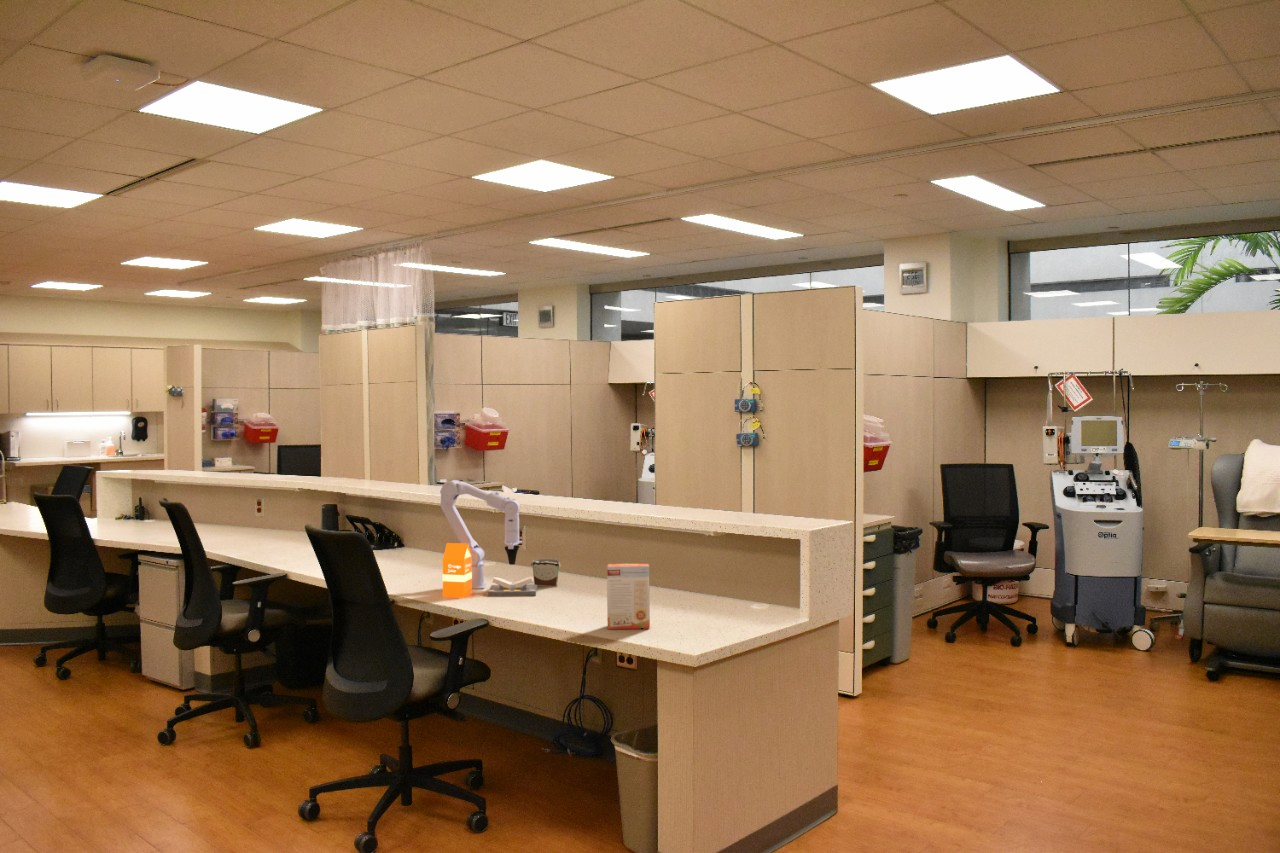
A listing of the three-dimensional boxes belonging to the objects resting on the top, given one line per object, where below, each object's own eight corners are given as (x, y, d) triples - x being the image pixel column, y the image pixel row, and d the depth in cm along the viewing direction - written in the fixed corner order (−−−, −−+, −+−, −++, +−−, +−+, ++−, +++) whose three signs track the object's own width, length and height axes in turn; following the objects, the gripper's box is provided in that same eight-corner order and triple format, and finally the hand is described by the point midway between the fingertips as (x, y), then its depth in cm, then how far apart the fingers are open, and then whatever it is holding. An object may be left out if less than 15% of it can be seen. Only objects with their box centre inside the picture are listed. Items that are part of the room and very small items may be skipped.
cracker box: (649, 625, 320) (649, 562, 319) (649, 629, 314) (650, 566, 313) (607, 625, 319) (607, 562, 318) (607, 629, 313) (607, 566, 312)
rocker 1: (492, 582, 369) (493, 578, 369) (493, 579, 374) (495, 576, 374) (509, 588, 370) (510, 584, 370) (510, 586, 375) (511, 582, 375)
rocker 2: (515, 588, 370) (514, 584, 370) (516, 585, 375) (515, 582, 375) (532, 582, 370) (531, 578, 370) (533, 579, 375) (532, 575, 375)
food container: (564, 583, 390) (564, 559, 389) (559, 586, 384) (559, 562, 384) (536, 582, 393) (536, 558, 393) (530, 585, 387) (530, 560, 387)
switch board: (488, 596, 365) (488, 589, 365) (491, 589, 379) (491, 581, 379) (535, 595, 366) (535, 588, 366) (537, 588, 380) (537, 581, 380)
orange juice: (464, 597, 363) (464, 545, 362) (442, 596, 364) (442, 544, 364) (472, 593, 370) (471, 542, 370) (450, 592, 372) (450, 541, 371)
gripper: (521, 532, 374) (521, 567, 374) (523, 527, 388) (523, 561, 389) (502, 532, 373) (502, 567, 374) (505, 527, 388) (505, 561, 388)
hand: (512, 564), depth 381 cm, fingers closed
